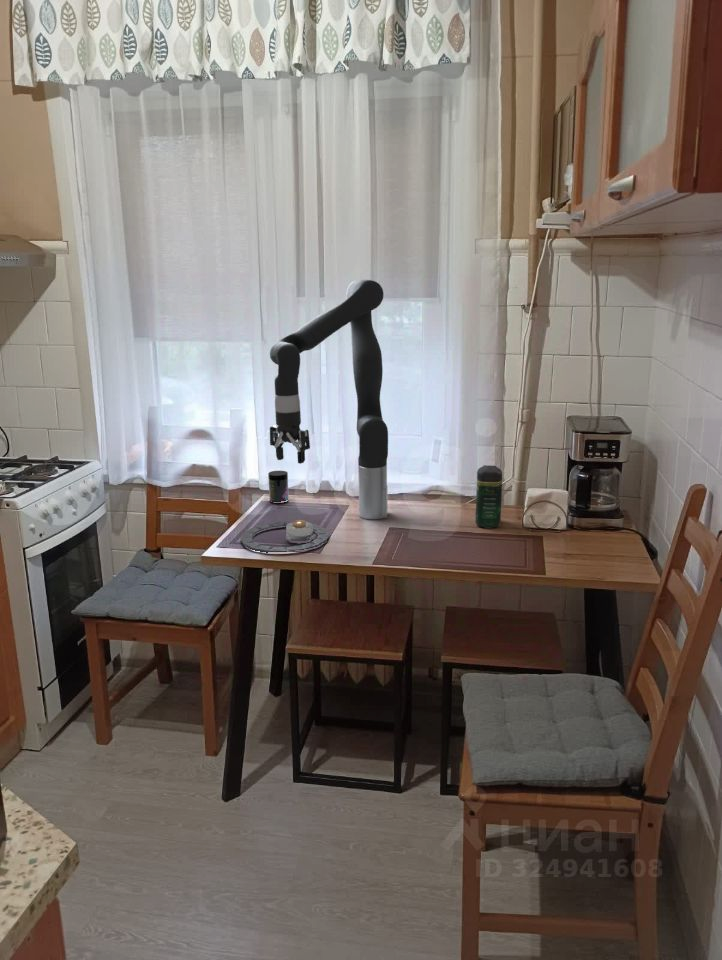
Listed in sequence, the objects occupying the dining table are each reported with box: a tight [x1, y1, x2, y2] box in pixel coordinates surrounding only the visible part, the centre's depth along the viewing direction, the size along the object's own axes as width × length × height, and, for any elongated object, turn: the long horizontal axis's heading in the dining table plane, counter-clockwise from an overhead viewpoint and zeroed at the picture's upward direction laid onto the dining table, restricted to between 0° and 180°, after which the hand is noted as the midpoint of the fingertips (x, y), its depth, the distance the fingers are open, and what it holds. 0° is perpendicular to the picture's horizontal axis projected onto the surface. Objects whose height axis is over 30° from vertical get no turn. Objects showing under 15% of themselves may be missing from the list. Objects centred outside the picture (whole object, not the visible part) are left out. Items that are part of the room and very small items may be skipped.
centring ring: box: [240, 521, 330, 553], centre depth 239 cm, size 26×26×1 cm
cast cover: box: [285, 519, 314, 541], centre depth 238 cm, size 8×8×6 cm
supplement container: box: [267, 470, 289, 502], centre depth 275 cm, size 7×7×10 cm
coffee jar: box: [475, 464, 503, 529], centre depth 247 cm, size 10×8×19 cm
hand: (290, 461), depth 242 cm, fingers open, 8 cm apart
